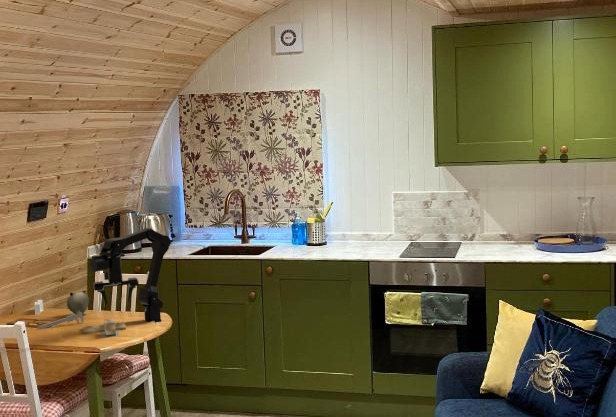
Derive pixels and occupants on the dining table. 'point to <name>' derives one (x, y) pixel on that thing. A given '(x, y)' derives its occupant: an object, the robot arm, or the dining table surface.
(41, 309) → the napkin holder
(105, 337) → the mat
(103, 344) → the dining table surface
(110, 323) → the block
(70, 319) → the caliper
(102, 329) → the oak board
